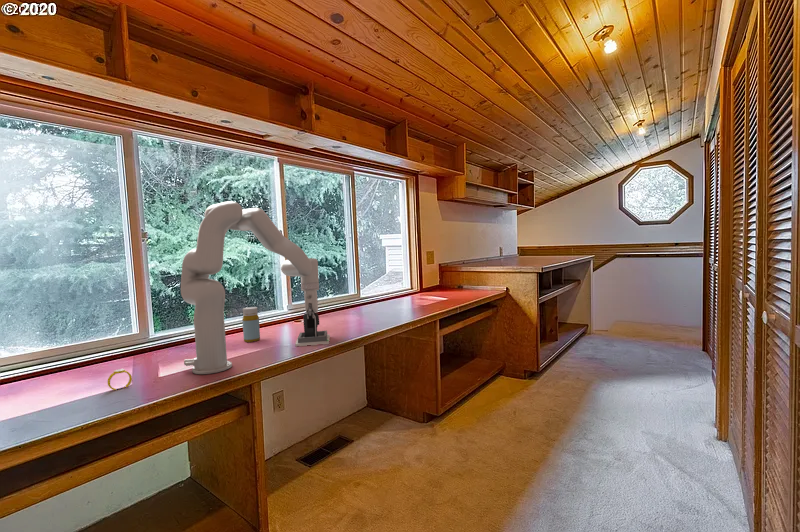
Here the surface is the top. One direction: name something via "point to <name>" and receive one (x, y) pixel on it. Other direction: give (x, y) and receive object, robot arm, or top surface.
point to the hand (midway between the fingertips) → (311, 325)
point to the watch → (117, 373)
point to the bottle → (250, 324)
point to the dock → (313, 339)
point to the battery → (311, 331)
